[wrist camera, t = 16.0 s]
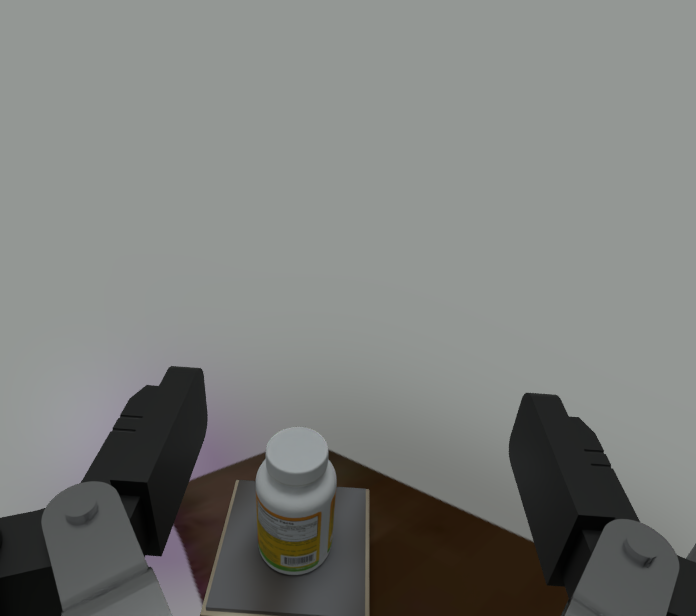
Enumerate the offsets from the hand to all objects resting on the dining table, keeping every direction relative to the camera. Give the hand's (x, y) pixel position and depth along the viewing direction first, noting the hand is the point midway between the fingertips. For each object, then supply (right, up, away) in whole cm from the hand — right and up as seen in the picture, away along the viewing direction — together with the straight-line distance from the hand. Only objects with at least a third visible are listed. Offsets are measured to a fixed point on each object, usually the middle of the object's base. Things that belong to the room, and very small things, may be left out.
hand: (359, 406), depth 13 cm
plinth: (-4, -18, +28) cm, 33 cm away
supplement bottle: (-4, -15, +25) cm, 30 cm away
